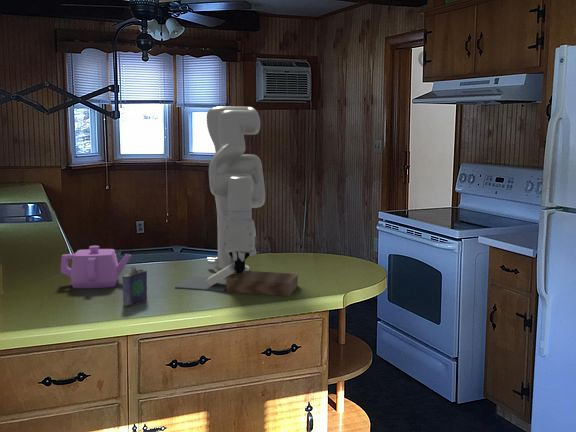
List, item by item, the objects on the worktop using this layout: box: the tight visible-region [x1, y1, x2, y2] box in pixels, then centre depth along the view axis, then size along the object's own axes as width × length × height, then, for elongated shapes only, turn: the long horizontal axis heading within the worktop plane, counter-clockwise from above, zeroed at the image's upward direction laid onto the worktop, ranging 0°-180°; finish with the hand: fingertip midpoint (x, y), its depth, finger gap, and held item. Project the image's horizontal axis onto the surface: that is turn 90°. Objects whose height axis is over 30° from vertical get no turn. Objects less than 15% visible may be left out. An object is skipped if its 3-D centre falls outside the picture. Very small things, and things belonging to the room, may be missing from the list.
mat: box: [174, 276, 227, 292], centre depth 214 cm, size 16×14×1 cm
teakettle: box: [60, 245, 132, 289], centre depth 213 cm, size 17×17×12 cm
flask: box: [122, 265, 148, 308], centre depth 192 cm, size 9×3×11 cm, turn 151°
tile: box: [206, 263, 236, 287], centre depth 210 cm, size 9×6×2 cm
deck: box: [225, 270, 299, 297], centre depth 208 cm, size 20×12×4 cm, turn 77°
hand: (239, 272), depth 210 cm, fingers closed
